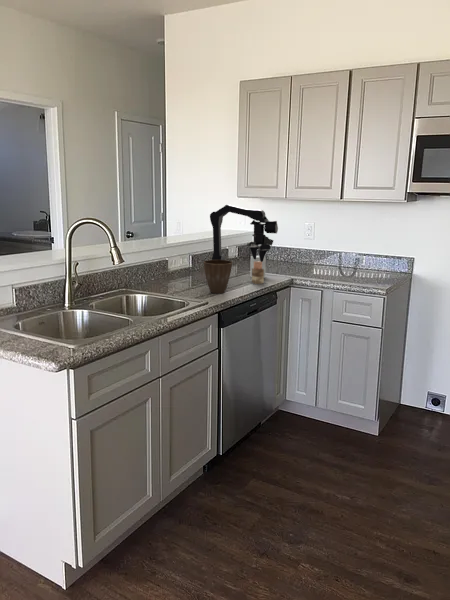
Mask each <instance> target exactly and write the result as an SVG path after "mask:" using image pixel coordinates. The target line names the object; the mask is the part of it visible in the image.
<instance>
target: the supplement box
mask: <svg viewBox="0 0 450 600" xmlns="http://www.w3.org/2000/svg"><path fill="white" fill-rule="evenodd" d="M254 261H260V257H259V255H256V259H254V258H253V256H252V255H251V256H250V263H249V264H250V266H249V267H250V270H249V271H250V273H249V274H250V275H249V276H250V277H251V278H252V268H254ZM266 264H267V257H266V256H264V259H263V262H262V269H264V279H265V278H266V266H267V265H266Z"/></svg>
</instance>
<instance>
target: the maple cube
mask: <svg viewBox="0 0 450 600" xmlns="http://www.w3.org/2000/svg"><path fill="white" fill-rule="evenodd" d="M251 281H252V282H253V283H255V284H258V285H261V284H260V283H264V282H265V278H264V276H261V277H255V276H252V277H251Z"/></svg>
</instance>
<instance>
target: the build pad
mask: <svg viewBox="0 0 450 600" xmlns="http://www.w3.org/2000/svg"><path fill="white" fill-rule="evenodd" d="M248 284H251V285H253V286H255V285H267V284H269V283H267V282H266V281H264V283H260V284H255V283H253V282H252V280H250V281H248Z"/></svg>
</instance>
